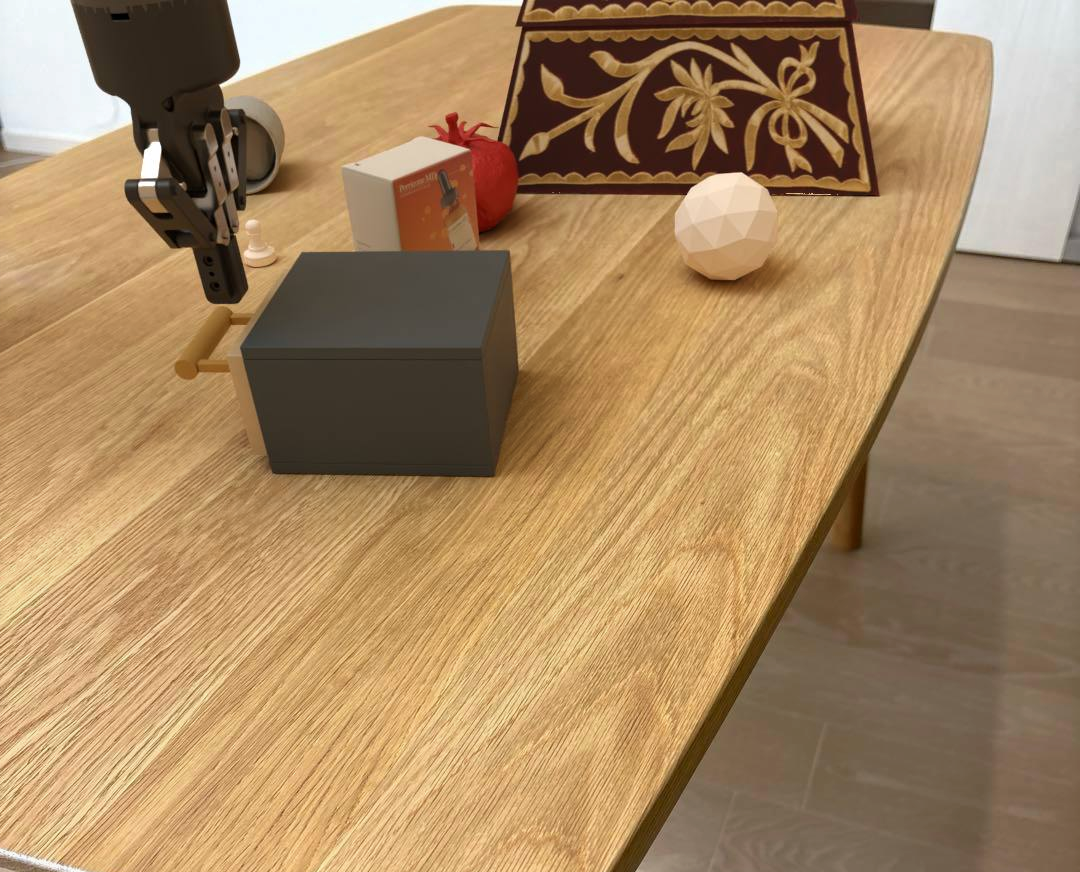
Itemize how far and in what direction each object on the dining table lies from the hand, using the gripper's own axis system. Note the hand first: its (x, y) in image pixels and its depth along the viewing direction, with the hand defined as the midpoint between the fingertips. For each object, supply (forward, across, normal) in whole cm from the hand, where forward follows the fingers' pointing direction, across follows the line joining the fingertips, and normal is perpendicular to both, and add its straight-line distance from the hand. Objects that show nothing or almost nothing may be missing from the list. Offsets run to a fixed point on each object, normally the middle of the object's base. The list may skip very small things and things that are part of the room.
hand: (228, 298), depth 64 cm
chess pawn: (+8, -24, -7) cm, 27 cm away
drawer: (+8, 0, +6) cm, 9 cm away
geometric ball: (+9, -21, +31) cm, 38 cm away
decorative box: (+9, -47, +28) cm, 55 cm away
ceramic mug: (+8, -42, -15) cm, 46 cm away
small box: (+9, -18, +8) cm, 21 cm away
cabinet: (+8, 0, +10) cm, 13 cm away
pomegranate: (+9, -32, +9) cm, 34 cm away
